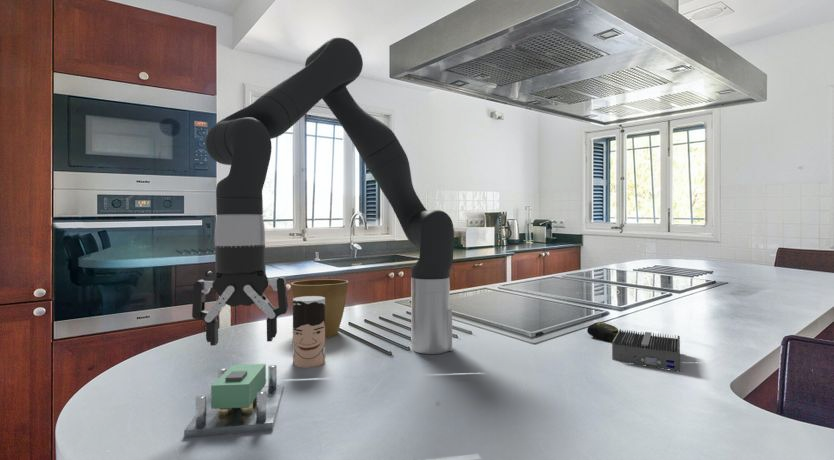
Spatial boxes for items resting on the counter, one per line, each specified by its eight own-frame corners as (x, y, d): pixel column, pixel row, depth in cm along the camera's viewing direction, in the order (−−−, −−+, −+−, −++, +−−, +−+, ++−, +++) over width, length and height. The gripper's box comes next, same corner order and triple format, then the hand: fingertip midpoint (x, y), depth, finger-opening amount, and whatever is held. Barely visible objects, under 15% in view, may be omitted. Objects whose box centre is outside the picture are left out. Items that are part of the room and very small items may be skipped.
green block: (233, 384, 74) (233, 361, 74) (265, 383, 75) (265, 360, 75) (211, 408, 64) (211, 381, 64) (248, 407, 65) (248, 380, 65)
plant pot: (360, 339, 116) (359, 280, 116) (320, 352, 104) (320, 286, 104) (320, 332, 124) (320, 277, 124) (279, 343, 112) (279, 282, 112)
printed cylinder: (286, 371, 90) (286, 300, 90) (304, 362, 96) (304, 295, 96) (314, 374, 88) (314, 301, 88) (330, 364, 94) (330, 296, 94)
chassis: (213, 396, 76) (213, 367, 76) (283, 390, 79) (283, 362, 79) (184, 439, 61) (184, 402, 61) (272, 430, 63) (272, 395, 63)
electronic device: (680, 355, 102) (679, 334, 102) (679, 373, 89) (679, 349, 89) (619, 347, 109) (619, 327, 109) (611, 363, 96) (611, 340, 96)
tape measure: (584, 336, 115) (587, 323, 114) (598, 333, 119) (601, 320, 118) (608, 346, 109) (611, 332, 109) (622, 342, 113) (625, 329, 113)
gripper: (288, 241, 75) (289, 333, 75) (199, 243, 72) (201, 339, 72) (283, 242, 67) (285, 345, 67) (185, 245, 64) (187, 352, 64)
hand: (242, 342), depth 70 cm, fingers open, 8 cm apart
